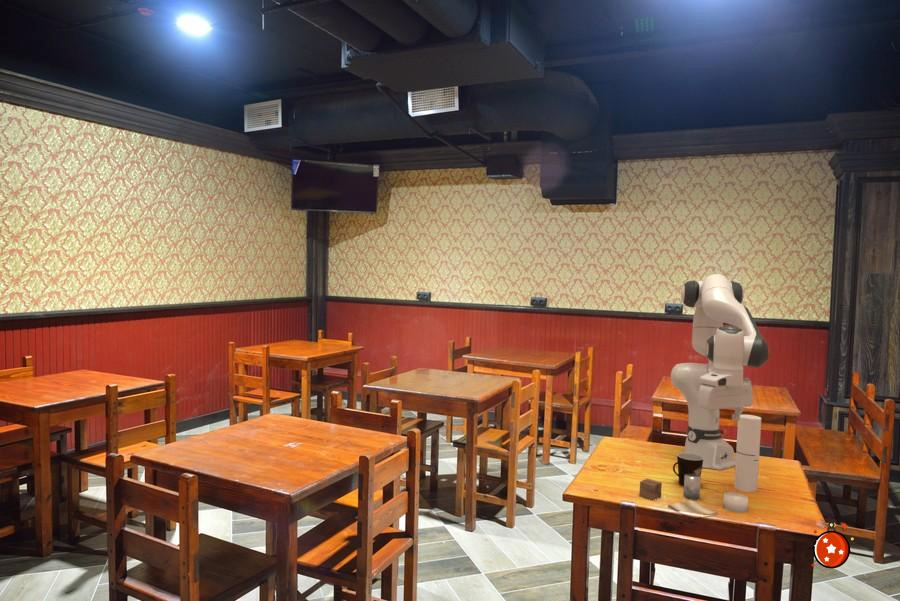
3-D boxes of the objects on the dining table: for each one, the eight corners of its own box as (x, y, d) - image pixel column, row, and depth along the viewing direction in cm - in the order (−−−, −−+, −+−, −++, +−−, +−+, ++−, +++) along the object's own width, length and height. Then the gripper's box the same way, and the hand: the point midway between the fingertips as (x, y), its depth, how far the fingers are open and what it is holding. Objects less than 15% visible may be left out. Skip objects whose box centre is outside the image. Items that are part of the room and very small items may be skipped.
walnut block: (646, 493, 202) (647, 478, 202) (661, 497, 198) (661, 482, 198) (639, 496, 198) (640, 481, 198) (653, 501, 195) (654, 485, 195)
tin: (691, 493, 202) (692, 473, 202) (703, 499, 198) (704, 477, 198) (680, 495, 200) (681, 474, 200) (691, 500, 196) (692, 479, 196)
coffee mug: (695, 480, 216) (696, 453, 215) (706, 489, 207) (708, 460, 207) (663, 480, 215) (664, 452, 215) (673, 488, 207) (674, 459, 206)
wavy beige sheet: (691, 503, 194) (692, 500, 194) (717, 514, 185) (717, 512, 185) (668, 507, 190) (668, 504, 190) (692, 519, 181) (692, 516, 181)
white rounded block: (733, 503, 195) (734, 491, 195) (752, 511, 189) (753, 498, 189) (718, 506, 192) (718, 493, 192) (736, 514, 186) (737, 501, 186)
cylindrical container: (730, 484, 213) (734, 414, 212) (751, 485, 213) (755, 414, 212) (739, 491, 206) (743, 419, 205) (761, 492, 206) (765, 419, 205)
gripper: (742, 375, 198) (740, 417, 198) (695, 377, 189) (693, 421, 190) (759, 378, 192) (756, 421, 192) (711, 381, 183) (709, 426, 184)
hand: (725, 421), depth 191 cm, fingers open, 8 cm apart
